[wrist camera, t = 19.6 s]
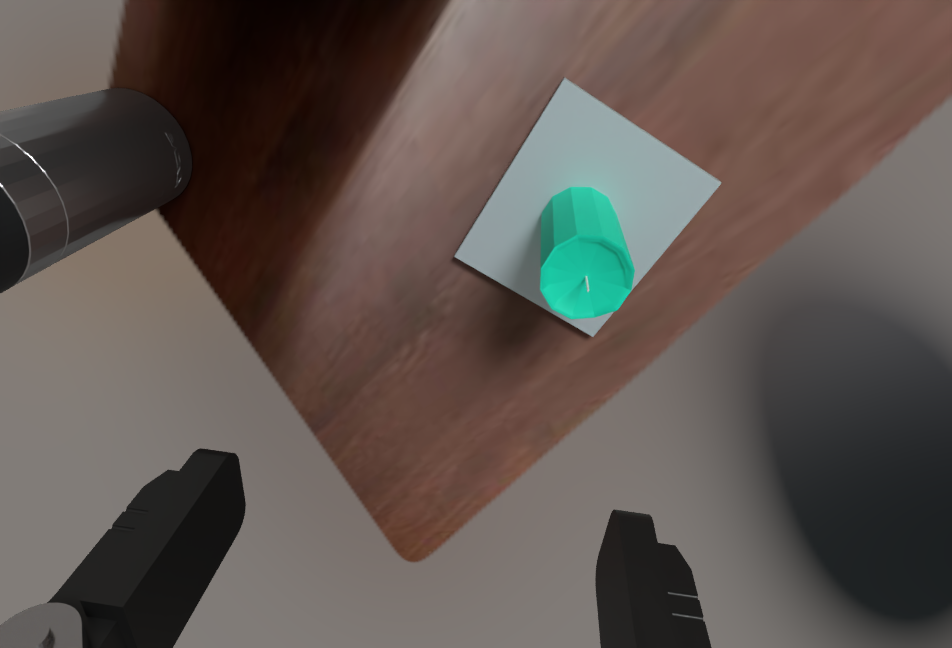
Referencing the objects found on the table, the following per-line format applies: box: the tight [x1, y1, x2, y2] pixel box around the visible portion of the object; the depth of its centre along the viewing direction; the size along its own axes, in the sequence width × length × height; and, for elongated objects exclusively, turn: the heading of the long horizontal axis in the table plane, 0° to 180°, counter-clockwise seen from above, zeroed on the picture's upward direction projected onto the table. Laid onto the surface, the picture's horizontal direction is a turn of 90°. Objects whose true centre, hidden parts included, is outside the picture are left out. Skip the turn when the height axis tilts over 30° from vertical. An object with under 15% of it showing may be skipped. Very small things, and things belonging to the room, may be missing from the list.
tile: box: [454, 77, 721, 337], centre depth 45 cm, size 16×14×1 cm
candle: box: [540, 187, 635, 319], centre depth 40 cm, size 6×6×12 cm
